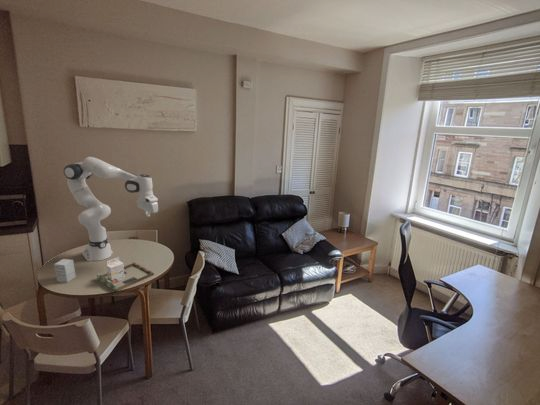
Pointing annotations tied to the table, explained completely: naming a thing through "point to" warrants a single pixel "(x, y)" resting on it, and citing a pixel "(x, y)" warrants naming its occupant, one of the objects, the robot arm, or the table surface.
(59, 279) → the supplement box
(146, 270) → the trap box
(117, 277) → the ink cartridge box
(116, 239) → the table surface
